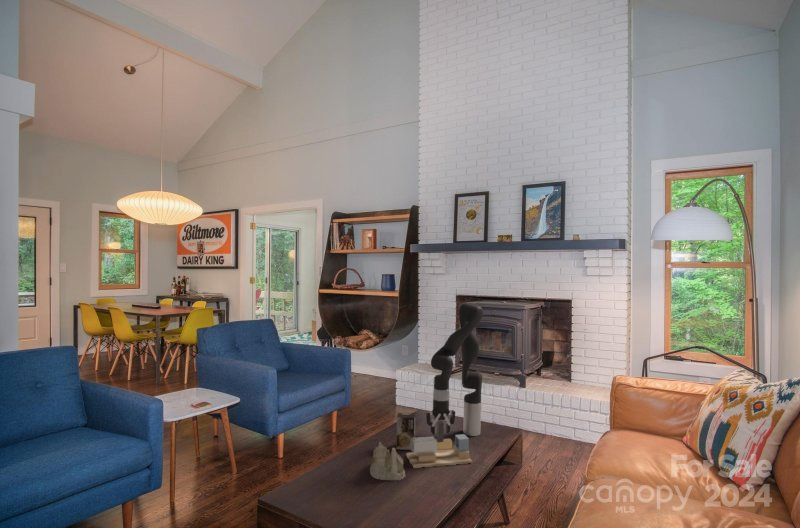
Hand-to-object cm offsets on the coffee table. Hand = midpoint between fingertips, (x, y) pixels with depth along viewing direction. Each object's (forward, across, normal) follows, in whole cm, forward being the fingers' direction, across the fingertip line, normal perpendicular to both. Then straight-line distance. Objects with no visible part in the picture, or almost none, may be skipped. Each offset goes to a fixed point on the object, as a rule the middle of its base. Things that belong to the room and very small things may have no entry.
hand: (440, 433), depth 212 cm
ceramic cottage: (+13, +26, +8) cm, 30 cm away
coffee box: (+12, +12, -16) cm, 24 cm away
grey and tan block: (+11, +8, 0) cm, 14 cm away
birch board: (+12, 0, 0) cm, 12 cm away
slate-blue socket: (+11, -11, 0) cm, 15 cm away
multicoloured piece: (+7, +2, 0) cm, 7 cm away
